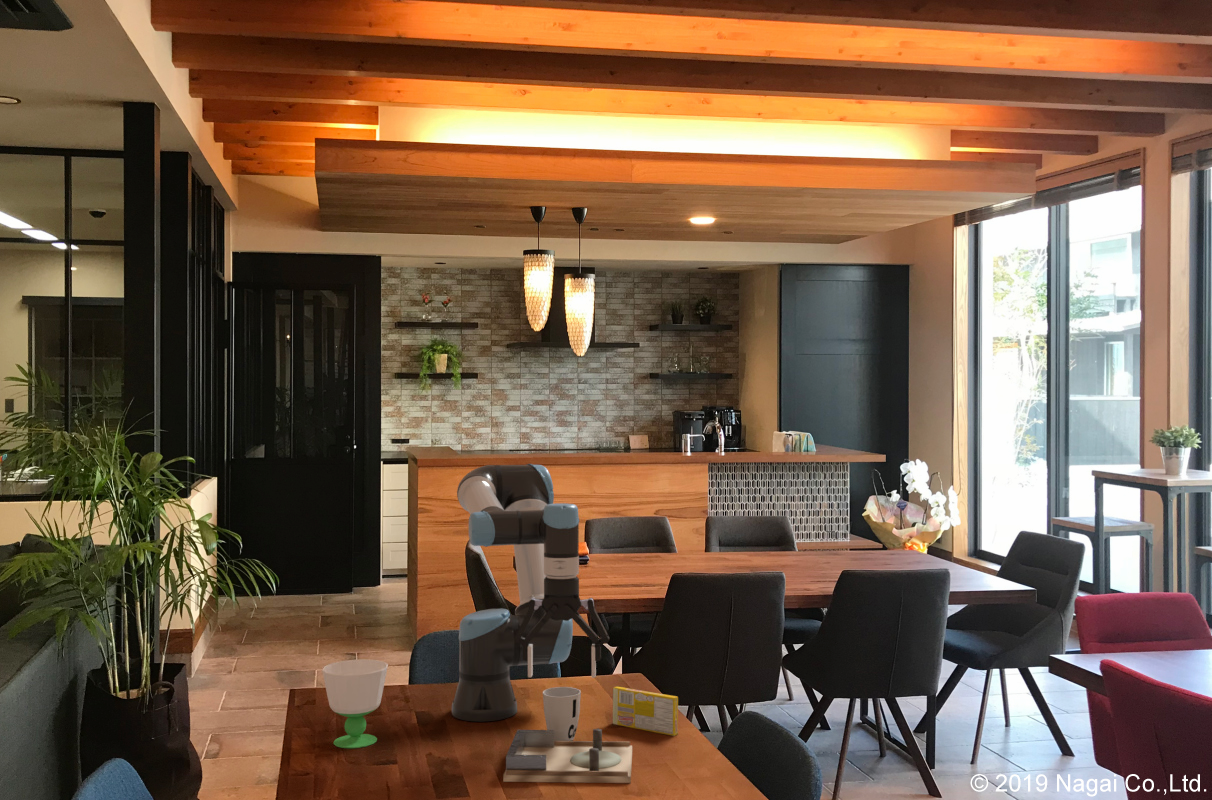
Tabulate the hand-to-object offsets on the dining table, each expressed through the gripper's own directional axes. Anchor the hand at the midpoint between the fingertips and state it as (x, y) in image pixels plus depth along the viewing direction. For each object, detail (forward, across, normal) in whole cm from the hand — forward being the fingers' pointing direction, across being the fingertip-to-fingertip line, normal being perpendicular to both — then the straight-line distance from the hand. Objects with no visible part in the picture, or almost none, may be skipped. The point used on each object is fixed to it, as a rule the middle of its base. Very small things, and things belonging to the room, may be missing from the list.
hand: (562, 676), depth 215 cm
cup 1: (+14, -44, -3) cm, 46 cm away
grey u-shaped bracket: (+12, -5, -16) cm, 21 cm away
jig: (+14, +3, -16) cm, 21 cm away
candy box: (+14, +18, +8) cm, 24 cm away
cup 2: (+14, 0, 0) cm, 14 cm away
